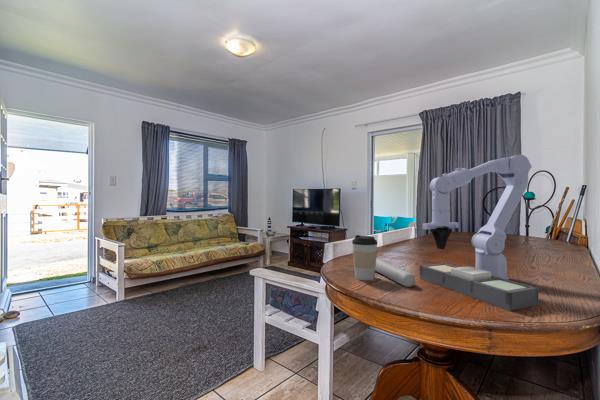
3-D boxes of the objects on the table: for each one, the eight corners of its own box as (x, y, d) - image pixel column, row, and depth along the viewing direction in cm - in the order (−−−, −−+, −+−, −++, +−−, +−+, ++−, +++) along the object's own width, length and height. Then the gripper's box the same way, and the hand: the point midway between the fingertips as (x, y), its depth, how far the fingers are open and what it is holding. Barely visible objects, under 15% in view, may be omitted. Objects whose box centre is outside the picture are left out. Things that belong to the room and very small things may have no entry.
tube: (420, 275, 92) (382, 258, 116) (406, 271, 91) (370, 255, 115) (416, 291, 92) (378, 271, 116) (401, 287, 91) (366, 268, 115)
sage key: (499, 287, 84) (499, 279, 84) (527, 296, 77) (527, 287, 77) (480, 290, 82) (480, 282, 82) (507, 299, 75) (507, 290, 75)
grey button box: (444, 275, 105) (444, 263, 105) (538, 305, 76) (538, 287, 76) (419, 278, 102) (419, 265, 102) (509, 310, 73) (509, 292, 72)
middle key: (468, 273, 94) (468, 266, 94) (491, 279, 87) (491, 271, 87) (451, 275, 91) (451, 268, 91) (472, 282, 84) (472, 274, 84)
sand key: (444, 271, 103) (444, 264, 103) (462, 277, 96) (462, 269, 96) (427, 273, 101) (427, 266, 101) (444, 279, 94) (444, 272, 94)
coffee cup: (382, 277, 104) (382, 235, 104) (369, 282, 97) (369, 238, 97) (360, 273, 110) (360, 233, 110) (347, 278, 103) (346, 236, 103)
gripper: (447, 209, 108) (447, 245, 108) (416, 210, 104) (416, 248, 104) (463, 210, 102) (463, 248, 102) (431, 211, 97) (431, 251, 97)
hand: (440, 248), depth 102 cm, fingers closed
